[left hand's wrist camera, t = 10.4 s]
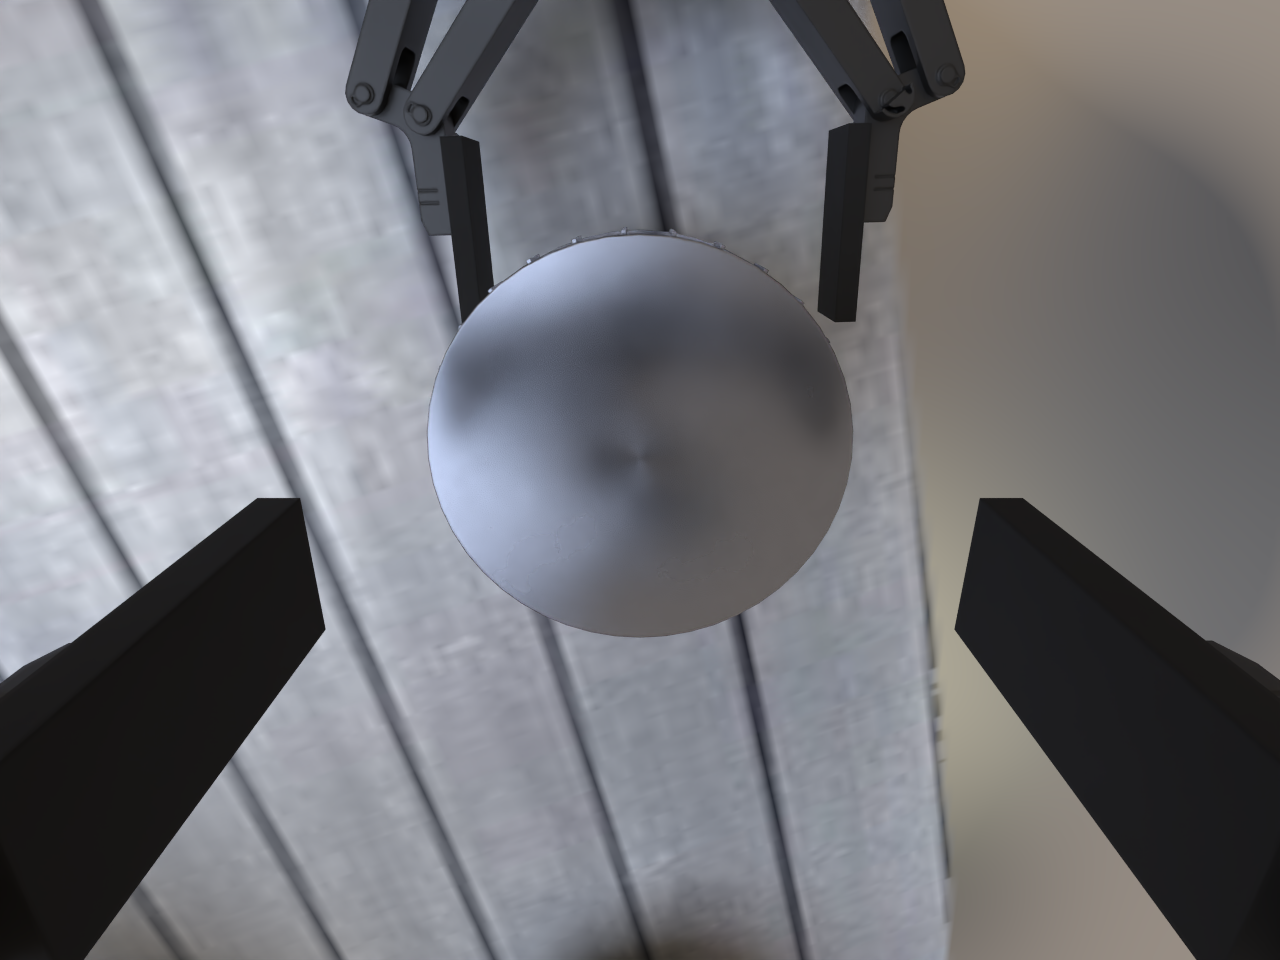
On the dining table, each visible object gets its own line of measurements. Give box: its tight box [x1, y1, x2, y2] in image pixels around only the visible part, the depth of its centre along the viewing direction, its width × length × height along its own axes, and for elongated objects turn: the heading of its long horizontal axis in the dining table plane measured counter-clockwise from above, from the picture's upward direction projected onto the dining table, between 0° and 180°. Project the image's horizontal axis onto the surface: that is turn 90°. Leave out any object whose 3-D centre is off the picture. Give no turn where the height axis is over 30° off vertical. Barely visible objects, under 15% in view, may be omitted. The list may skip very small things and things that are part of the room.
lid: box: [427, 227, 853, 637], centre depth 19 cm, size 11×11×2 cm
